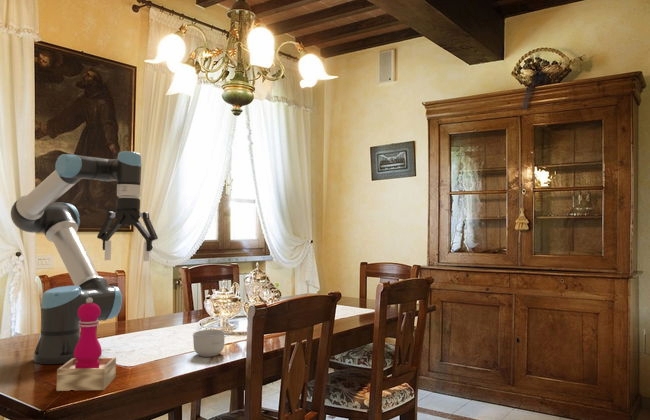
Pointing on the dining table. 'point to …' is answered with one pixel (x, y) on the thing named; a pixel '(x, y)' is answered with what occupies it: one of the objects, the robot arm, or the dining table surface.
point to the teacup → (208, 342)
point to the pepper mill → (88, 336)
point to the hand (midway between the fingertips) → (126, 260)
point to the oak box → (86, 375)
